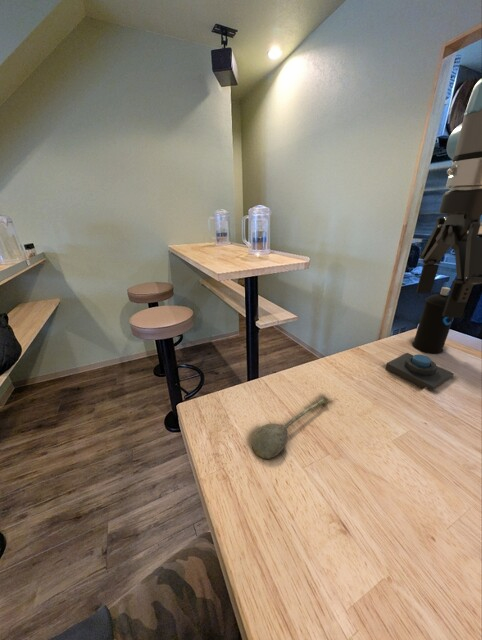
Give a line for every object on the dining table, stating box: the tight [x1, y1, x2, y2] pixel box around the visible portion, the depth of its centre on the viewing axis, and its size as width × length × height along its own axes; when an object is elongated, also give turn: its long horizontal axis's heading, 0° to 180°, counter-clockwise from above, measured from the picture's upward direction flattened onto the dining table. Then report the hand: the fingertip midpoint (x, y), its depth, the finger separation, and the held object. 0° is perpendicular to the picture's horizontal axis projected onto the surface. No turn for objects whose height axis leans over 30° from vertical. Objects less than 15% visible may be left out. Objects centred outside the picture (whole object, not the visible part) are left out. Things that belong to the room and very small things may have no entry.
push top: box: [412, 353, 432, 368], centre depth 67 cm, size 4×4×2 cm
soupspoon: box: [251, 396, 330, 460], centre depth 54 cm, size 22×3×7 cm
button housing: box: [384, 352, 455, 392], centre depth 68 cm, size 12×10×4 cm
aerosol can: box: [411, 286, 454, 355], centre depth 77 cm, size 8×8×20 cm
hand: (435, 303), depth 52 cm, fingers open, 13 cm apart
